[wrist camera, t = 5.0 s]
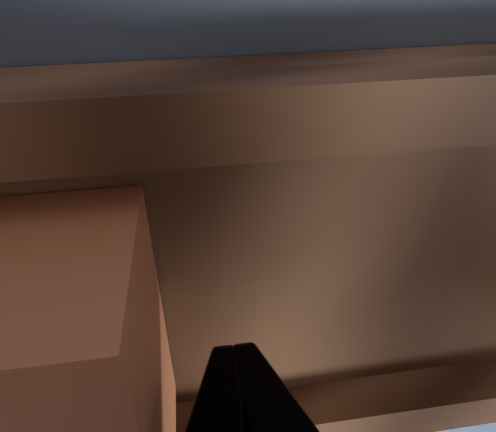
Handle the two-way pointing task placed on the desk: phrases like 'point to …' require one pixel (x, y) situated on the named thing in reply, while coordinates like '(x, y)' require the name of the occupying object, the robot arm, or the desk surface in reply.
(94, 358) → the block
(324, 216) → the channel
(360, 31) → the desk surface
